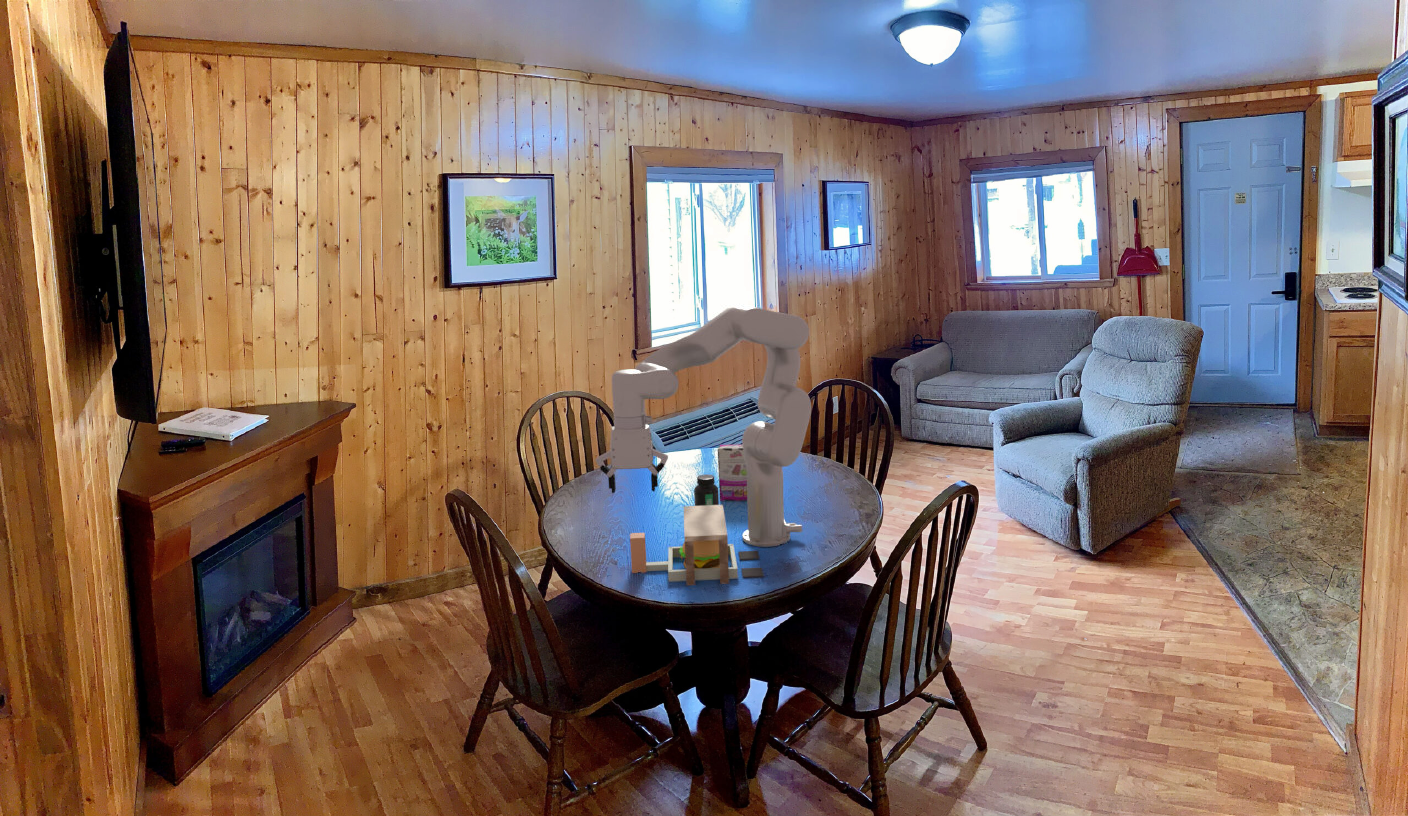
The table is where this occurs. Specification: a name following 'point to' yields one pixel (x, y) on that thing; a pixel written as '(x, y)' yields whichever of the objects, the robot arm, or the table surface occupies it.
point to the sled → (674, 575)
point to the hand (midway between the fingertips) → (633, 490)
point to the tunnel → (705, 536)
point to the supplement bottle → (706, 491)
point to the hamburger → (704, 554)
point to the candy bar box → (732, 473)
